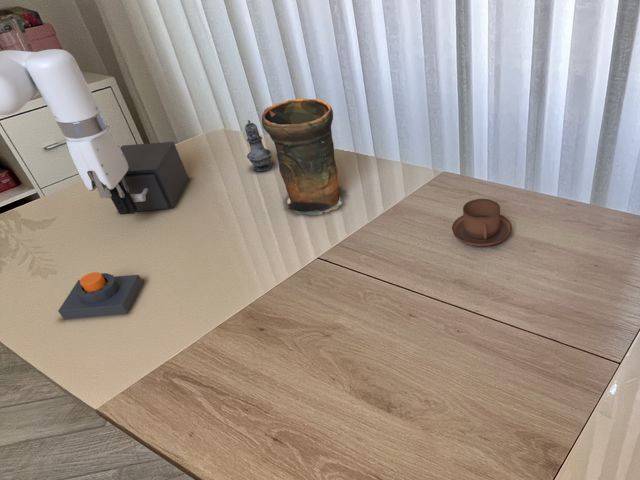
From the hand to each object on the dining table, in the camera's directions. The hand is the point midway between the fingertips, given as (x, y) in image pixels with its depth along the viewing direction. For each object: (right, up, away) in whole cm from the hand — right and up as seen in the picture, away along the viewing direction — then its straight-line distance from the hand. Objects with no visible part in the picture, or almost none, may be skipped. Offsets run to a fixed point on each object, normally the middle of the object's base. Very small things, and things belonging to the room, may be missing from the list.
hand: (128, 211), depth 115 cm
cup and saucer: (+74, -6, -3) cm, 74 cm away
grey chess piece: (+21, +16, +21) cm, 34 cm away
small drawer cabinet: (-1, +7, +13) cm, 15 cm away
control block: (+5, -20, -15) cm, 25 cm away
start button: (+5, -18, -17) cm, 25 cm away
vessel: (+37, +5, +9) cm, 39 cm away
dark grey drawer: (-1, +5, +9) cm, 11 cm away
